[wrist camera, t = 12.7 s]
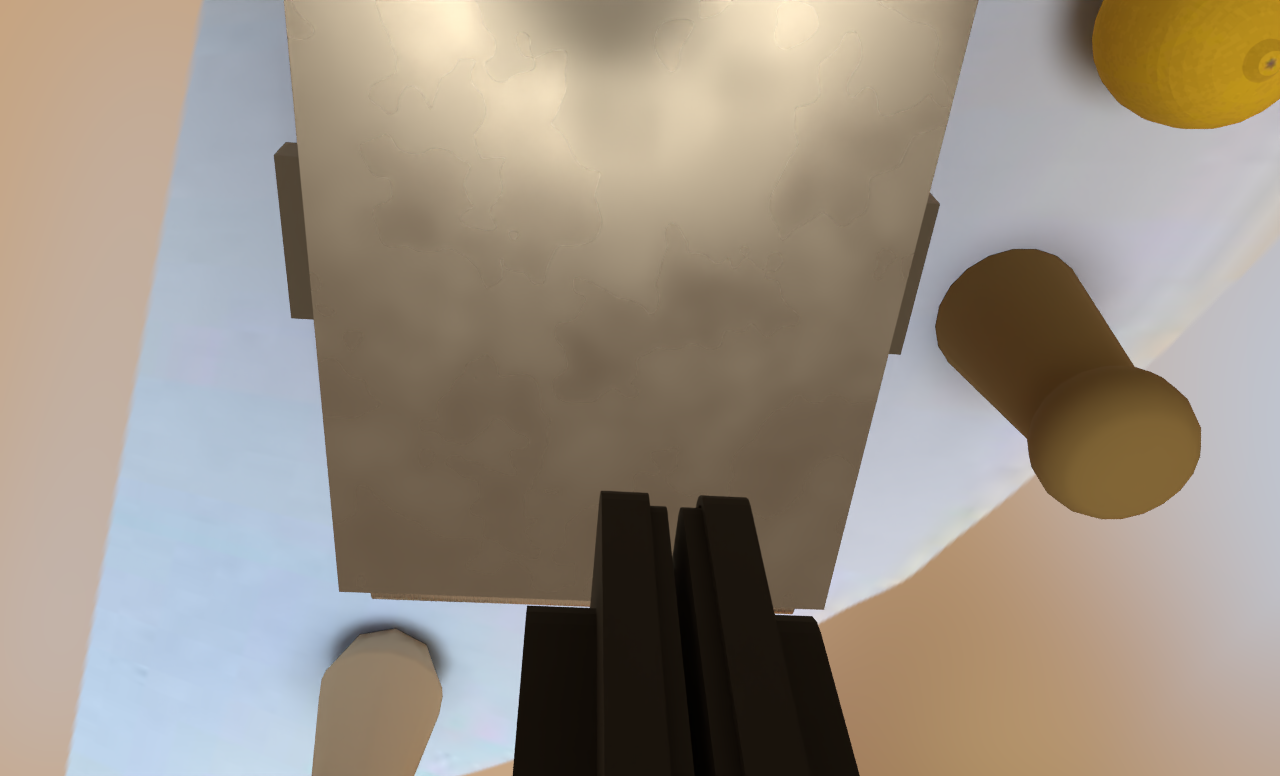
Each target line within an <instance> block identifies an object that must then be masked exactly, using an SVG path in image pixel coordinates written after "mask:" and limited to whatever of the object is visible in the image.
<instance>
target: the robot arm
mask: <svg viewBox="0 0 1280 776" xmlns="http://www.w3.org/2000/svg"><path fill="white" fill-rule="evenodd" d="M513 776H860V775H859V772H858V768H857V764H856V761H855V757H854V754H853V750H852V746H851V742H850V738H849V735H848V731H847V727H846V724H845V720H844V716H843V713H842V709H841V705H840V702H839V698H838V694H837V691H836V687H835V683H834V679H833V676H832V672H831V668H830V665H829V661H828V657H827V654H826V650H825V646H824V643H823V639H822V635H821V632H820V629H819V627H818V624H817V622H816V620H815V619H814V618H813V617H812V616H790V615H775V613H774V609H773V604H772V600H771V595H770V591H769V586H768V582H767V577H766V573H765V568H764V564H763V559H762V555H761V550H760V545H759V541H758V536H757V532H756V527H755V523H754V518H753V514H752V509H751V505H750V502H749V499H748V498H747V497H727V496H706V495H700V496H699V497H698V500H697V504H696V508H689V507H681V508H680V510H679V515H678V521H677V528H676V535H675V542H674V549H673V556H672V550H671V540H670V530H669V521H668V511H667V507H666V506H650V499H649V494H648V493H642V492H621V491H601V492H600V498H599V509H598V520H597V532H596V544H595V555H594V567H593V578H592V590H591V602H590V608H575V607H548V606H527V612H526V623H525V635H524V647H523V659H522V671H521V683H520V695H519V707H518V718H517V730H516V742H515V754H514V767H513Z"/></svg>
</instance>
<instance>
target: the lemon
mask: <svg viewBox="0 0 1280 776" xmlns="http://www.w3.org/2000/svg"><path fill="white" fill-rule="evenodd" d="M1092 46H1093V58H1094V62H1095V65H1096V68H1097V71H1098V73H1099V76H1100V79H1101V81H1102V82H1103V84H1104V85H1105V86H1106V88H1107V89H1108V90H1109V91H1110V93H1111V94H1112V95H1113V97H1114V98H1115V99H1116V100H1117V101H1118V102H1119V103H1120V104H1121V105H1123V106H1124V107H1126V108H1128V109H1129V110H1131V111H1132V112H1134V113H1135V114H1137V115H1138V116H1140V117H1142V118H1144V119H1146V120H1149V121H1152V122H1156V123H1159V124H1163V125H1167V126H1170V127H1175V128H1181V129H1214V128H1219V127H1223V126H1227V125H1231V124H1235V123H1239V122H1242V121H1244V120H1246V119H1248V118H1250V117H1252V116H1254V115H1256V114H1258V113H1260V112H1262V111H1264V110H1265V109H1267V108H1268V107H1269V106H1271V105H1272V104H1273V103H1275V102H1276V101H1277V100H1279V99H1280V0H1103V2H1102V5H1101V7H1100V10H1099V12H1098V14H1097V17H1096V19H1095V25H1094V30H1093V36H1092Z"/></svg>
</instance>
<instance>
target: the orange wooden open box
mask: <svg viewBox="0 0 1280 776" xmlns="http://www.w3.org/2000/svg"><path fill="white" fill-rule="evenodd" d="M274 161H275V170H276V180H277V189H278V198H279V208H280V217H281V226H282V236H283V245H284V254H285V264H286V273H287V282H288V292H289V301H290V310H291V318H297V319H314V316H313V306H312V295H311V284H310V274H309V263H308V252H307V241H306V231H305V220H304V209H303V199H302V188H301V177H300V167H299V156H298V145H297V143H291V142H286V143H285V144H284V145H283V146H282V147H281V148H280V149H279V150H278V151H277V152H276V153H275V154H274ZM939 206H940V204H939V202H938V201H937V200H936V199H935V198H934V197H933V196H932V194H931V193H929V197H928V201H927V205H926V209H925V212H924V216H923V220H922V224H921V228H920V232H919V236H918V240H917V244H916V248H915V252H914V256H913V260H912V264H911V268H910V272H909V276H908V279H907V283H906V287H905V291H904V295H903V299H902V303H901V307H900V311H899V315H898V319H897V323H896V327H895V331H894V335H893V339H892V343H891V346H890V350H889V354H899V355H901V351H902V347H903V343H904V339H905V336H906V332H907V328H908V324H909V320H910V316H911V313H912V309H913V305H914V301H915V297H916V293H917V290H918V286H919V282H920V278H921V274H922V271H923V267H924V263H925V259H926V255H927V251H928V248H929V244H930V240H931V236H932V232H933V228H934V225H935V221H936V217H937V213H938V209H939Z"/></svg>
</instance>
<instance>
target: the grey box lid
mask: <svg viewBox="0 0 1280 776" xmlns="http://www.w3.org/2000/svg"><path fill="white" fill-rule="evenodd" d="M977 4H978V0H284V6H285V17H286V28H287V38H288V49H289V60H290V70H291V81H292V92H293V102H294V113H295V124H296V135H297V145H298V156H299V167H300V177H301V188H302V199H303V209H304V220H305V231H306V241H307V252H308V263H309V274H310V284H311V295H312V306H313V316H314V327H315V338H316V348H317V359H318V370H319V381H320V391H321V402H322V413H323V423H324V434H325V445H326V455H327V466H328V477H329V487H330V498H331V509H332V520H333V530H334V541H335V552H336V562H337V573H338V584H339V592H362V593H371V597H372V599H393V600H420V601H447V602H475V603H502V604H529V605H557V606H584V607H590V602H591V590H592V578H593V567H594V555H595V544H596V532H597V520H598V509H599V498H600V492H601V491H621V492H642V493H648V494H649V499H650V506H666V507H667V511H668V521H669V530H670V540H671V550H672V556H673V549H674V542H675V535H676V528H677V521H678V515H679V510H680V508H681V507H689V508H696V504H697V500H698V497H699V496H700V495H706V496H727V497H747V498H748V499H749V502H750V505H751V509H752V514H753V518H754V523H755V527H756V532H757V536H758V541H759V545H760V550H761V555H762V559H763V564H764V568H765V573H766V577H767V582H768V586H769V591H770V595H771V600H772V604H773V609H774V613H775V614H793V612H794V609H820V610H824V607H825V603H826V599H827V595H828V591H829V587H830V583H831V579H832V575H833V571H834V567H835V563H836V559H837V555H838V551H839V547H840V543H841V540H842V536H843V532H844V528H845V524H846V520H847V516H848V512H849V508H850V504H851V500H852V496H853V492H854V488H855V484H856V480H857V477H858V473H859V469H860V465H861V461H862V457H863V453H864V449H865V445H866V441H867V437H868V433H869V429H870V425H871V421H872V417H873V413H874V410H875V406H876V402H877V398H878V394H879V390H880V386H881V382H882V378H883V374H884V370H885V366H886V362H887V358H888V354H889V350H890V346H891V343H892V339H893V335H894V331H895V327H896V323H897V319H898V315H899V311H900V307H901V303H902V299H903V295H904V291H905V287H906V283H907V279H908V276H909V272H910V268H911V264H912V260H913V256H914V252H915V248H916V244H917V240H918V236H919V232H920V228H921V224H922V220H923V216H924V212H925V209H926V205H927V201H928V197H929V193H930V189H931V185H932V181H933V177H934V173H935V169H936V165H937V161H938V157H939V153H940V149H941V145H942V142H943V138H944V134H945V130H946V126H947V122H948V118H949V114H950V110H951V106H952V102H953V98H954V94H955V90H956V86H957V82H958V78H959V75H960V71H961V67H962V63H963V59H964V55H965V51H966V47H967V43H968V39H969V35H970V31H971V27H972V23H973V19H974V15H975V11H976V8H977Z"/></svg>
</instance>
